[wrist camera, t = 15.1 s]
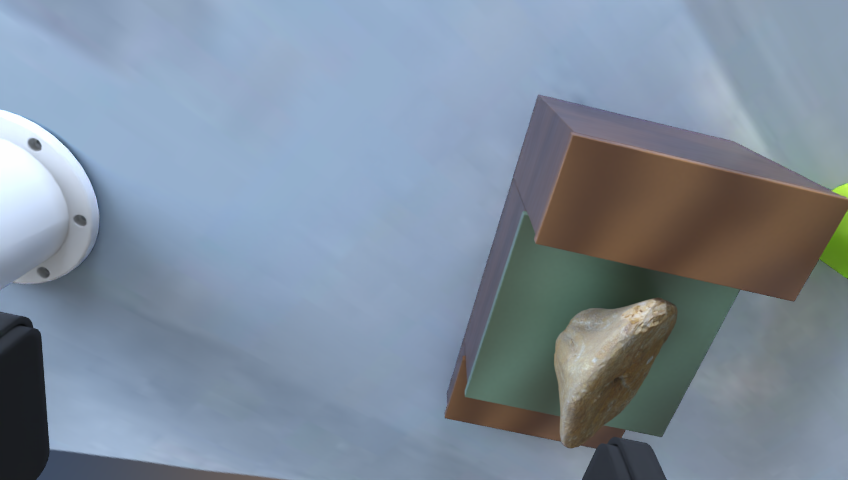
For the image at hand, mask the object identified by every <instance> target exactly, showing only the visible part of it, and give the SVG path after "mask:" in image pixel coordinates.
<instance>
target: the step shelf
mask: <svg viewBox="0 0 848 480" xmlns="http://www.w3.org/2000/svg"><path fill="white" fill-rule="evenodd" d="M847 210H848V198H847V197H845V196H841V195H839V194H837V193H835V192H833V191H831V190H829V189H827V188H825V187H823V186H821V185H819V184H817V183H815V182H813V181H811V180H809V179H807V178H805V177H803V176H801V175H799V174H797V173H795V172H793V171H791V170H789V169H787V168H785V167H783V166H781V165H779V164H777V163H775V162H773V161H771V160H769V159H767V158H765V157H763V156H762V155H760V154H758V153H756V152H754V151H752V150H750V149H748V148H746V147H744V146H742V145H740V144H738V143H736V142H734V141H730V140H726V139H721V138H717V137H713V136H709V135H705V134H701V133H697V132H692V131H688V130H684V129H680V128H676V127H672V126H667V125H663V124H659V123H655V122H651V121H647V120H642V119H638V118H634V117H630V116H626V115H622V114H617V113H613V112H609V111H605V110H601V109H597V108H592V107H588V106H584V105H580V104H576V103H572V102H567V101H563V100H559V99H555V98H551V97H547V96H542V95H538V97H537V100H536V104H535V107H534V110H533V113H532V117H531V120H530V123H529V127H528V130H527V133H526V136H525V140H524V143H523V146H522V149H521V153H520V156H519V159H518V162H517V166H516V169H515V172H514V175H513V179H512V182H511V186H510V189H509V192H508V195H507V199H506V202H505V205H504V208H503V212H502V215H501V218H500V221H499V225H498V228H497V231H496V235H495V238H494V241H493V244H492V248H491V251H490V254H489V257H488V261H487V264H486V267H485V270H484V274H483V277H482V280H481V283H480V287H479V290H478V293H477V297H476V300H475V303H474V306H473V310H472V313H471V316H470V319H469V323H468V326H467V329H466V332H465V336H464V339H463V342H462V346H461V349H460V352H459V355H458V359H457V362H456V365H455V368H454V372H453V375H452V378H451V381H450V385H449V388H448V391H447V407H446V410H445V418H447V419H452V420H457V421H462V422H467V423H472V424H477V425H482V426H487V427H492V428H497V429H502V430H506V431H511V432H516V433H521V434H526V435H531V436H536V437H541V438H546V439H551V440H556V441H561V437H560V413H561V412H560V398H559V389H558V388H559V386H558V380H557V376H556V372H555V366H554V354H555V345H556V340H557V338H558V336H559V334H560V333H561V332H563V331H564V330H565V329H566V327H567V326H568V325H569V322H570V320H571V319H572V318H573V317H574V316H575V315H577V314H578V313H580V312H581V311H584V310H587V309H589V308H604V309H616V308H621V307H625V306H629V305H632V304H635V303H638V302H642V301H645V300H649V299H653V298H662V299H663V300H666V301H669V302H671V303H673V304H674V305H675V306H676V307H677V310H678V312H677V320H676V324H675V325H674V328H673V330H672V331H671V333H670V335H669V337H668V338H667V340H666V342H665V343H664V344H663V346H662V347H661V349H660V352H659V354H658V355H657V356H656V358H655V360H654V362H653V364H652V366H651V369H650V371H649V373H648V375H647V376H646V378H645V379H644V381H643V383H642V385H641V386H640V388H639V389H638V391H637V393H636V395H635V396H634V397H633V399H632V400H631V401H630V403H629V404H628V405H627V406H626V407H625V408H624V410H623V411H622V412H621V413H620V414H618V415H617V416H616V417H614V418H613V419H612V420H610V421H609V422H608V423H606V424H604V425H603V426H602V427H601V428H600V429H599V430H598V431H597V432H596V433H595V434H594V436H593V437H591V438H589V440H587V441H586V442H585V443H584V444H581V446H586V447H591V448H596V449H597V447H598V446H599V445H600V444H601V443H604V444H607V443H608V441H609V440H610V439H611V438H613V437H619V438H622V436H623V434H624V432H625V430H629V431H634V432H639V433H644V434H649V435H654V436H659V437H662V436H663V434H664V432H665V430H666V428H667V426H668V425H669V423H670V421H671V419H672V417H673V415H674V413H675V411H676V409H677V408H678V406H679V404H680V402H681V400H682V398H683V396H684V394H685V393H686V391H687V389H688V387H689V385H690V383H691V381H692V379H693V377H694V376H695V374H696V372H697V370H698V368H699V366H700V364H701V362H702V361H703V359H704V357H705V355H706V353H707V351H708V349H709V347H710V345H711V344H712V342H713V340H714V338H715V336H716V334H717V332H718V330H719V329H720V327H721V325H722V323H723V321H724V319H725V317H726V315H727V313H728V312H729V310H730V308H731V306H732V304H733V302H734V300H735V298H736V297H737V295H738V293H739V291H740V290H745V291H749V292H754V293H758V294H763V295H767V296H772V297H776V298H781V299H785V300H790V301H795V300H796V298H797V296H798V294H799V293H800V291H801V289H802V288H803V286H804V284H805V282H806V281H807V279H808V277H809V276H810V274H811V272H812V270H813V269H814V267H815V265H816V264H817V262H818V260H819V258H820V257H821V255H822V253H823V252H824V250H825V248H826V246H827V245H828V243H829V241H830V240H831V238H832V236H833V234H834V233H835V231H836V229H837V228H838V226H839V224H840V222H841V221H842V219H843V217H844V216H845V214H846V212H847Z"/></svg>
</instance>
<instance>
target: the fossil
mask: <svg viewBox="0 0 848 480" xmlns="http://www.w3.org/2000/svg"><path fill="white" fill-rule="evenodd" d="M677 312H678V310H677V307H676V306H675V305H674V304H673V303H671V302H669V301H666V300H663V299H662V298H653V299H649V300H645V301H642V302H638V303H635V304H632V305H629V306H625V307H621V308H616V309H604V308H589V309H587V310H584V311H581V312H580V313H578V314H577V315H575V316H574V317H573V318H572V319H571V320H570V322H569V325H568V326H567V327H566V329H565V330H564V331H563V332H561V333H560V334H559V336H558V338H557V340H556V345H555V354H554V366H555V372H556V376H557V380H558V386H559V388H558V389H559V398H560V412H561V413H560V437H561V442H562V444H563V445H564V446H566V447H567V448H575V447H579V446H580V445H581V444H584V443H585V442H586V441H587V440H589V438H591V437H593V436H594V434H595V433H596V432H597V431H598V430H599V429H600V428H601V427H602V426H603V425H604V424H606V423H608V422H609V421H610V420H612V419H613V418H614V417H616V416H617V415H618V414H620V413H621V412H622V411H623V410H624V408H625V407H626V406H627V405H628V404H629V403H630V401H631V400H632V399H633V397H634V396H635V395H636V393H637V391H638V389H639V388H640V386H641V385H642V383H643V381H644V379H645V378H646V376H647V375H648V373H649V371H650V369H651V366H652V364H653V362H654V360H655V358H656V356H657V355H658V354H659V352H660V349H661V347H662V346H663V344H664V343H665V342H666V340H667V338H668V337H669V335H670V333H671V331H672V330H673V328H674V325H675V324H676V320H677Z"/></svg>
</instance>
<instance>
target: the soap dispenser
mask: <svg viewBox="0 0 848 480" xmlns="http://www.w3.org/2000/svg"><path fill="white" fill-rule="evenodd" d="M832 191H833V192H835V193H837V194H839V195H841V196H845V197H847V198H848V184H845V185H842V186H839V187H837V188H835V189H833V190H832ZM819 259H820V260H821V261H823V262H824V263H826V264H827V265H828V266H830V267H831V268H833V269H834V270H836V271H837V272H838V273H840V274H841V275H843V276H844V277H845V278H847V279H848V210H847V212H846V214H845V216H844V217H843V219H842V221H841V222H840V224H839V226H838V228H837V229H836V231H835V233H834V234H833V236H832V238H831V240H830V241H829V243H828V245H827V246H826V248H825V250H824V252H823V253H822V255H821V257H820V258H819Z"/></svg>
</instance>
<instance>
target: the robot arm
mask: <svg viewBox="0 0 848 480" xmlns="http://www.w3.org/2000/svg"><path fill="white" fill-rule="evenodd" d="M98 231H99V209H98V204H97V198H96V195H95V193H94V190H93V187H92V185H91V182H90V180H89V178H88V177H87V175H86V173H85V171H84V170H83V168H82V166H81V165H80V163H79V162H78V161H77V160H76V158H75V157H74V156H73V155H72V153H71V152H70V151H69V150H68V149H67V148H66V147H65V146H64V145H63V144H62V143H61V142H60V141H59V140H58V139H56V138H55V137H54V136H53V135H52V134H50V133H49V132H47V131H46V130H44V129H43V128H42V127H40V126H39V125H37V124H35V123H33V122H31V121H29V120H27V119H25V118H23V117H21V116H19V115H17V114H13V113H10V112H7V111H4V110H1V109H0V290H2V289H3V288H5V287H6V286H8V285H9V284H11V283H18V284H40V283H44V282H48V281H52V280H55V279H57V278H60V277H62V276H64V275H66V274H68V273H69V272H70V271H72V270H73V269H74V268H76V267H77V266H79V265H80V264H81V263H82V262H83V261H84V259H85V258H86V257H87V256H88V255H89V254H90V252H91V250H92V248H93V246H94V245H95V242H96V238H97V235H98ZM48 457H49V436H48V422H47V409H46V395H45V381H44V367H43V354H42V340H41V334H40V332H39V330H38V329H35V328H33V324H32V322H31V320H30V319H29V318H26V317H23V316H18V315H13V314H8V313H3V312H0V480H36V479H37V478H38V477H39V475H40V474H41V472H42V471H43V469H44V468H45V466H46V463H47V461H48ZM582 480H667V479H666V477H665V475H664V473H663V471H662V468H661V466H660V464H659V462H658V460H657V458H656V455H655V453H654V451H653V449H652V448H651V446H650V445H648V444H647V443H643V442H638V441H633V440H629V439H624V438H619V437H613V438H611V439H610V440H609V441H608V443H607V444H604V443H601V444H600V445H599V446H598V447H597V449H596V451H595V453H594V455H593V457H592V459H591V461H590V464H589V466H588V468H587V470H586V472H585V474H584V476H583V478H582Z"/></svg>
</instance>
